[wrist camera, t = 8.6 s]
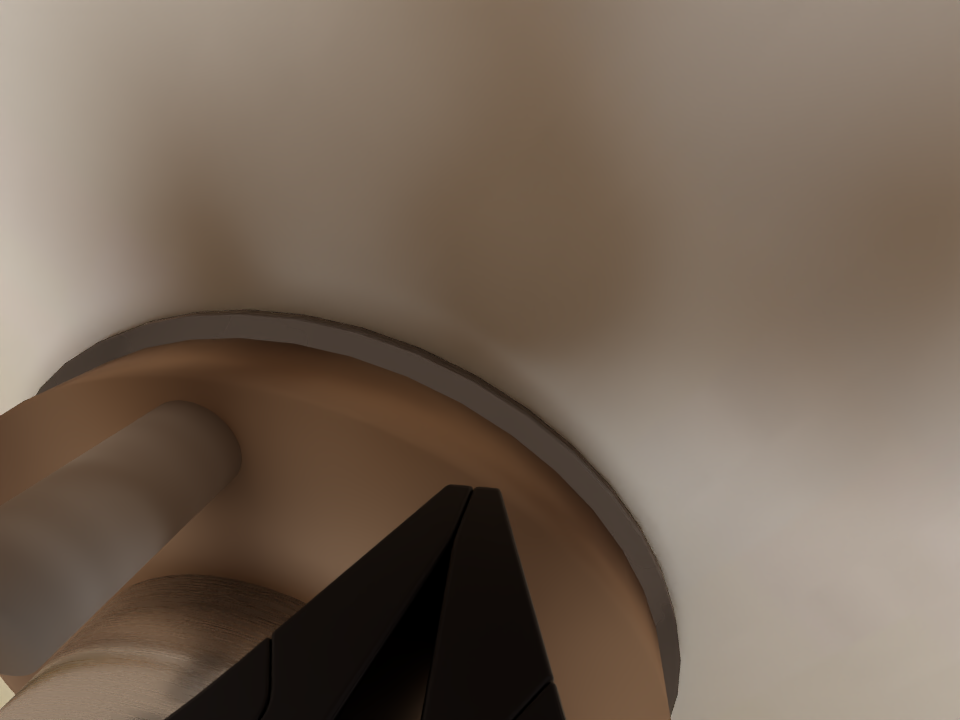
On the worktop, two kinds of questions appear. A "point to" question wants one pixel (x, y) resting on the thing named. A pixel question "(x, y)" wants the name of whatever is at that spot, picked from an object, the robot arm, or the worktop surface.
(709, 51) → the worktop surface
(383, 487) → the turntable
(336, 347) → the turntable stand
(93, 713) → the cover
